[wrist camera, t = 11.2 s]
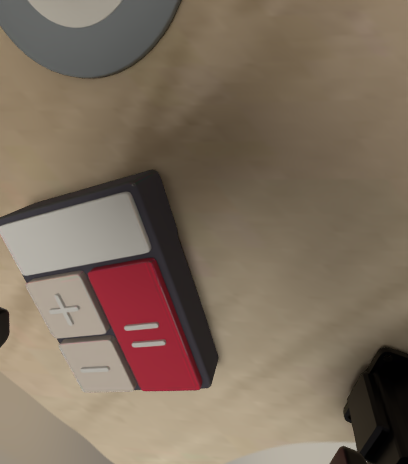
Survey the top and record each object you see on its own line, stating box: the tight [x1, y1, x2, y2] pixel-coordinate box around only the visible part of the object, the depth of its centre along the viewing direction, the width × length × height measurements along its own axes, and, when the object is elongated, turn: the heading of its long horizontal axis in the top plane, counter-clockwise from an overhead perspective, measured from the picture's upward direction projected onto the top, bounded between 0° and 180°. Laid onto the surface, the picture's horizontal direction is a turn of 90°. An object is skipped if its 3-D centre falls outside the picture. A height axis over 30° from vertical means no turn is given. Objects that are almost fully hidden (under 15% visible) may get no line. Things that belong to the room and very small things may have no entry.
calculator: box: [0, 170, 218, 392], centre depth 22 cm, size 11×4×15 cm
